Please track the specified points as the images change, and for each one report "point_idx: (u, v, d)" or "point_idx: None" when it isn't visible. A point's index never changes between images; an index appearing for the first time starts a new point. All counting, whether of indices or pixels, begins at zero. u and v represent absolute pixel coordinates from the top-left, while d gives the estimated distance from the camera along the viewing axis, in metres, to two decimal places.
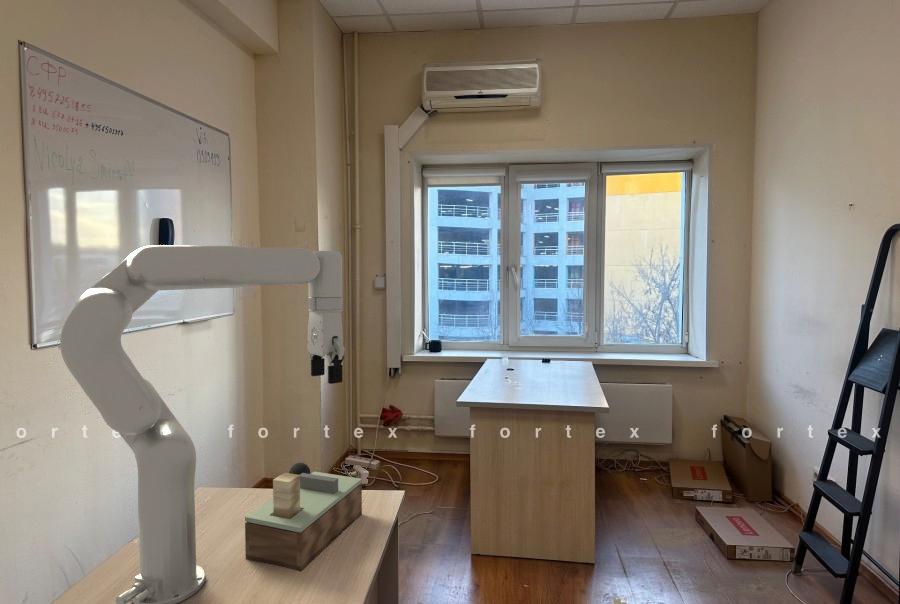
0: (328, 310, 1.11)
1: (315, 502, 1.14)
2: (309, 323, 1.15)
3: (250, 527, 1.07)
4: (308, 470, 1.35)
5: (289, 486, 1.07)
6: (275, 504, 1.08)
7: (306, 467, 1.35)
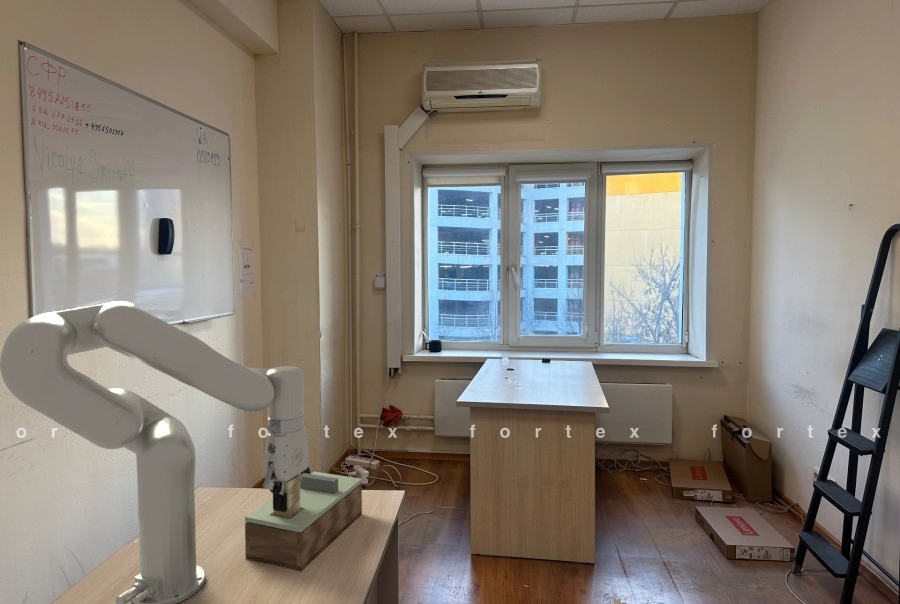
0: None
1: (315, 502, 1.14)
2: (287, 449, 1.05)
3: (250, 527, 1.07)
4: (308, 470, 1.35)
5: (289, 486, 1.07)
6: None
7: None
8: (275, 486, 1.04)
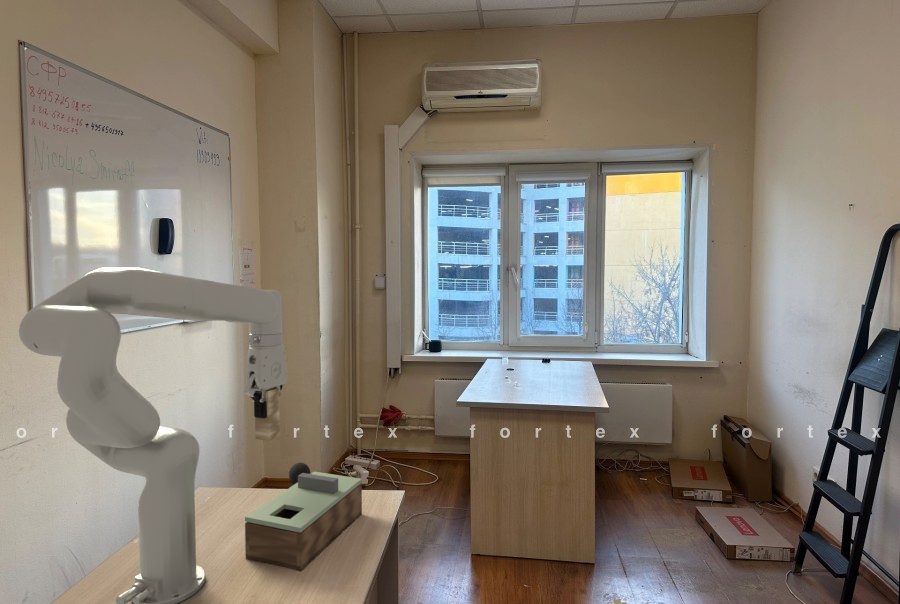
0: None
1: (315, 502, 1.14)
2: (266, 361, 1.18)
3: (250, 527, 1.07)
4: (308, 470, 1.35)
5: (269, 395, 1.20)
6: None
7: (306, 467, 1.35)
8: (255, 393, 1.17)
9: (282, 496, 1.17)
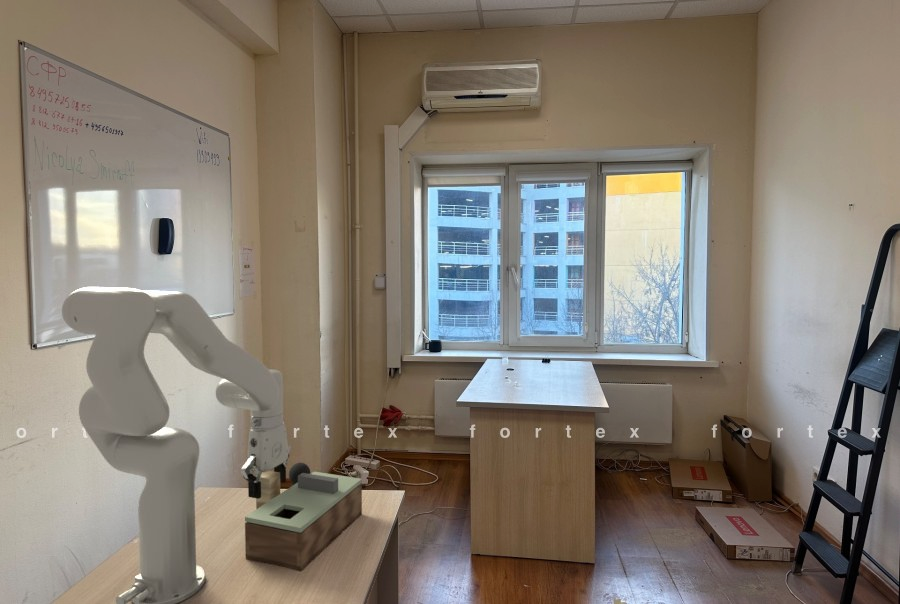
0: None
1: (315, 502, 1.14)
2: (267, 443, 1.19)
3: (250, 527, 1.07)
4: (308, 470, 1.35)
5: (270, 482, 1.21)
6: None
7: (306, 467, 1.35)
8: (250, 475, 1.16)
9: (282, 496, 1.17)
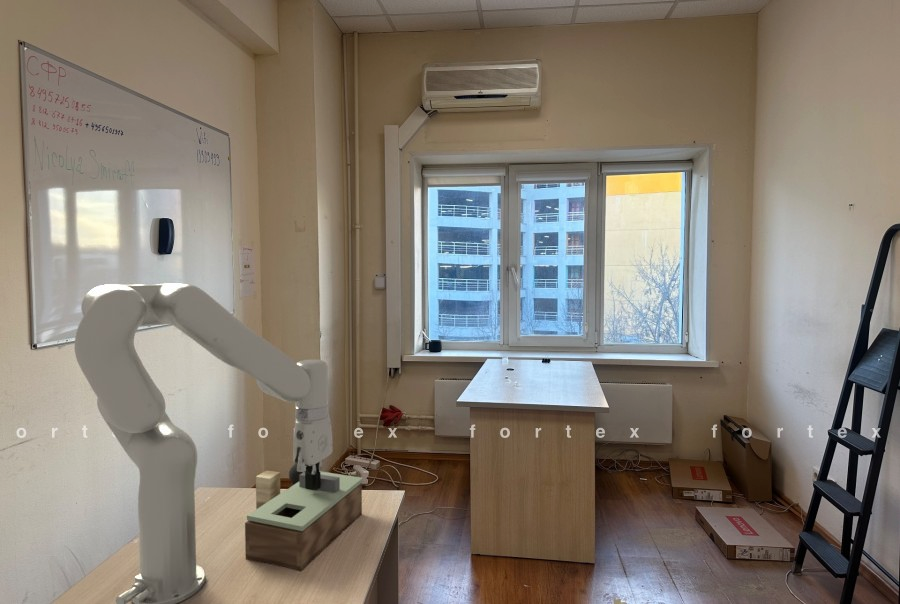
0: None
1: (317, 501, 1.15)
2: (314, 436, 1.14)
3: (250, 527, 1.07)
4: None
5: (270, 482, 1.21)
6: (258, 498, 1.22)
7: None
8: (308, 467, 1.15)
9: (284, 495, 1.18)
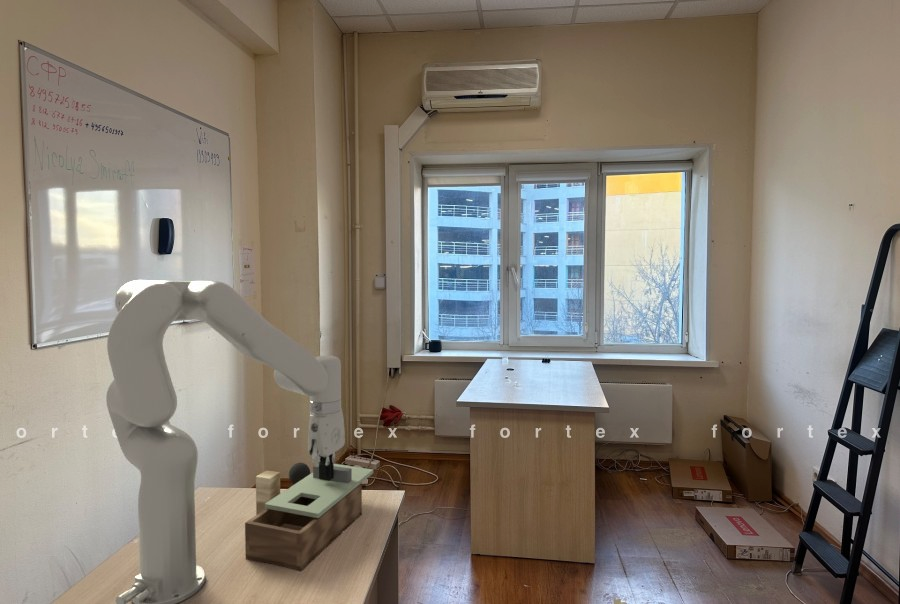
0: None
1: (330, 490, 1.20)
2: (328, 428, 1.20)
3: (250, 527, 1.07)
4: (308, 470, 1.35)
5: (270, 482, 1.21)
6: (258, 498, 1.22)
7: (306, 467, 1.35)
8: (322, 458, 1.21)
9: (299, 485, 1.23)
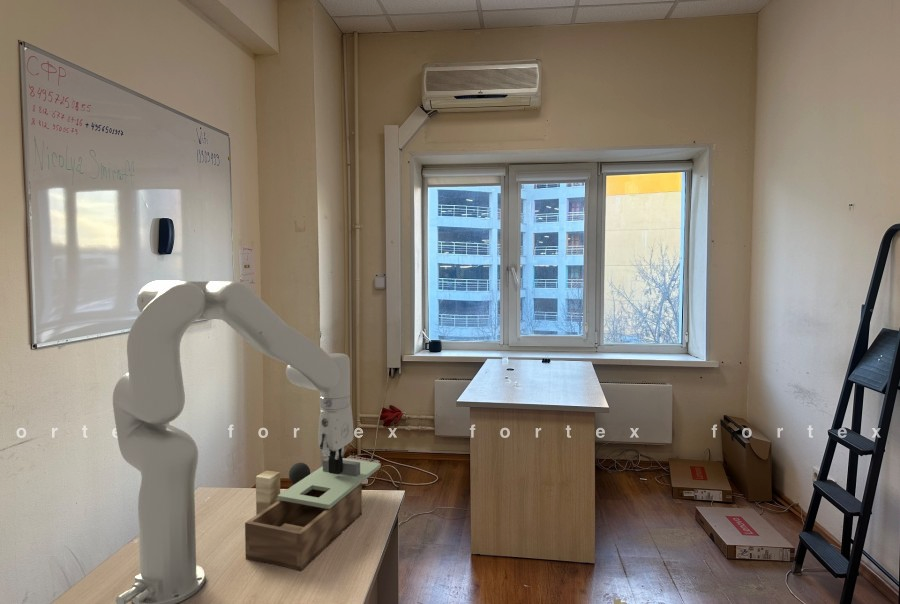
0: None
1: (340, 483, 1.24)
2: (337, 423, 1.24)
3: (250, 527, 1.07)
4: (308, 470, 1.35)
5: (270, 482, 1.21)
6: (258, 498, 1.22)
7: (306, 467, 1.35)
8: (332, 452, 1.25)
9: (309, 478, 1.27)
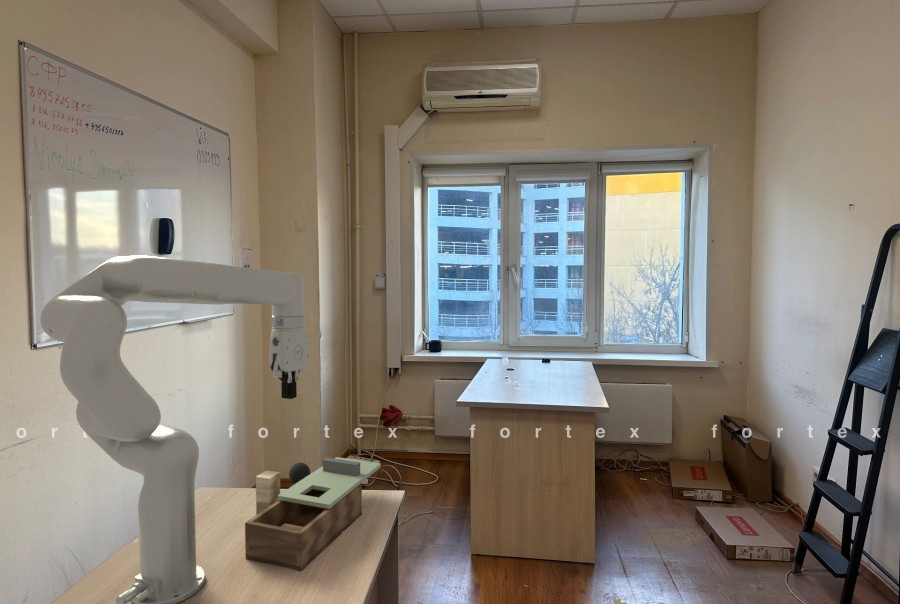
0: None
1: (340, 483, 1.25)
2: (289, 343, 1.18)
3: (250, 527, 1.07)
4: (308, 470, 1.35)
5: (270, 482, 1.21)
6: (258, 498, 1.22)
7: (306, 467, 1.35)
8: (283, 374, 1.19)
9: (309, 478, 1.28)
